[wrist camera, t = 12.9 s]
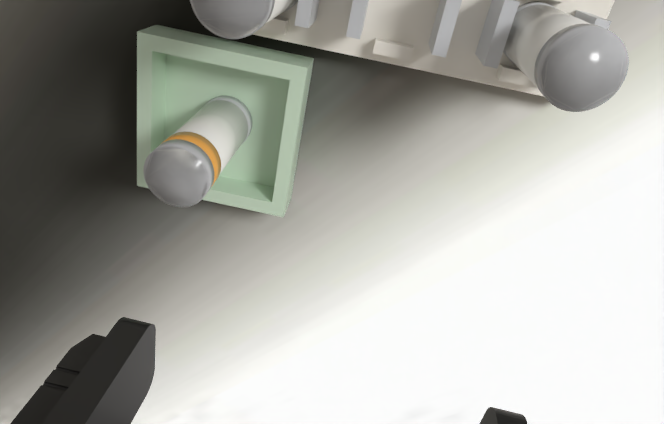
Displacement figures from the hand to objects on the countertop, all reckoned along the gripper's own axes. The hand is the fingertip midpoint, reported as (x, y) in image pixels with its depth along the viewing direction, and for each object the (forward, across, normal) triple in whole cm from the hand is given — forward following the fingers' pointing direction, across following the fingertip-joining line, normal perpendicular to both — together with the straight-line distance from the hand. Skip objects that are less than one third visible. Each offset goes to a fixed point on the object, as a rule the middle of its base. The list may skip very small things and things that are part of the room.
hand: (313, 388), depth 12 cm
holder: (+27, 0, -5) cm, 28 cm away
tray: (+26, +10, +5) cm, 29 cm away
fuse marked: (+26, +10, +5) cm, 28 cm away
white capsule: (+26, -8, -6) cm, 28 cm away
